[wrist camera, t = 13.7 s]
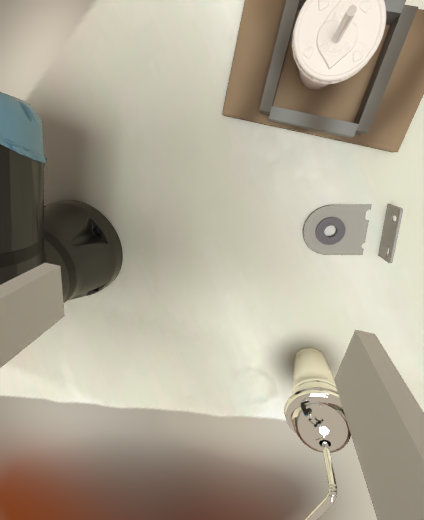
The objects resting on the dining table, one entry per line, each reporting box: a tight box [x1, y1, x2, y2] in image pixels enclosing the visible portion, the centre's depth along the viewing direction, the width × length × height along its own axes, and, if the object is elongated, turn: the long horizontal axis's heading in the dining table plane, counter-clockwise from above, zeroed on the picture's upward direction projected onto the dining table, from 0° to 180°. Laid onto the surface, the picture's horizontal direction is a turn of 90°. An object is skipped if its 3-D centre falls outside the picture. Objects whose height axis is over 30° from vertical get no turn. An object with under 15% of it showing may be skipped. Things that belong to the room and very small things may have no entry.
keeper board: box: [222, 0, 424, 152], centre depth 28 cm, size 20×12×4 cm, turn 78°
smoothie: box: [292, 0, 386, 90], centre depth 22 cm, size 6×6×14 cm
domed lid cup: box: [284, 348, 351, 520], centre depth 34 cm, size 8×9×20 cm
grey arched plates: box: [303, 204, 403, 263], centre depth 34 cm, size 7×10×4 cm, turn 93°
